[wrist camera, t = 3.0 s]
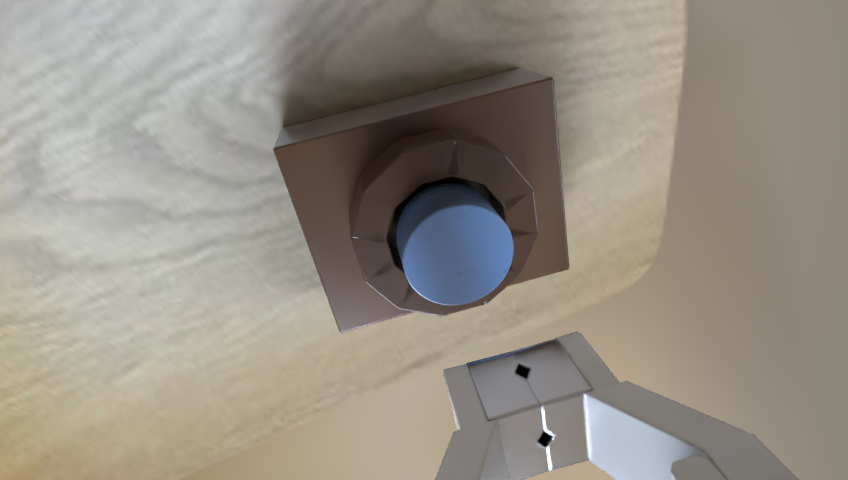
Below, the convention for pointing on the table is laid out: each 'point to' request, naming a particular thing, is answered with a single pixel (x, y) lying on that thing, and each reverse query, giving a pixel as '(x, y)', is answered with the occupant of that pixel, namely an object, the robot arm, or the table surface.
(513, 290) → the table surface
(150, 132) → the table surface
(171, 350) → the table surface
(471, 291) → the plunger
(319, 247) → the button base
